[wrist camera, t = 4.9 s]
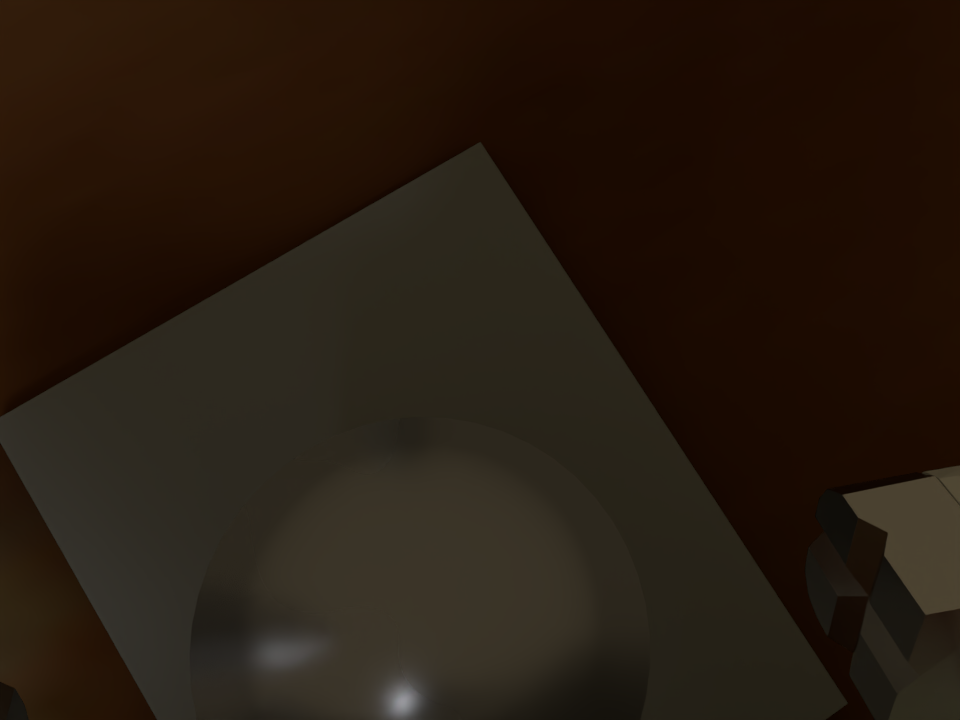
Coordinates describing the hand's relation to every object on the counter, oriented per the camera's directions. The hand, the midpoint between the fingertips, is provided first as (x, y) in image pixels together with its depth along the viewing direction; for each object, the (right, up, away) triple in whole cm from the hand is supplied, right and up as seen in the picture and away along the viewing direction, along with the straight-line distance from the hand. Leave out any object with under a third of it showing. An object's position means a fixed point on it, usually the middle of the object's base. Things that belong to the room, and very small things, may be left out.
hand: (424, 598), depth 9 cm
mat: (0, -1, +7) cm, 7 cm away
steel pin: (0, -1, +7) cm, 7 cm away
